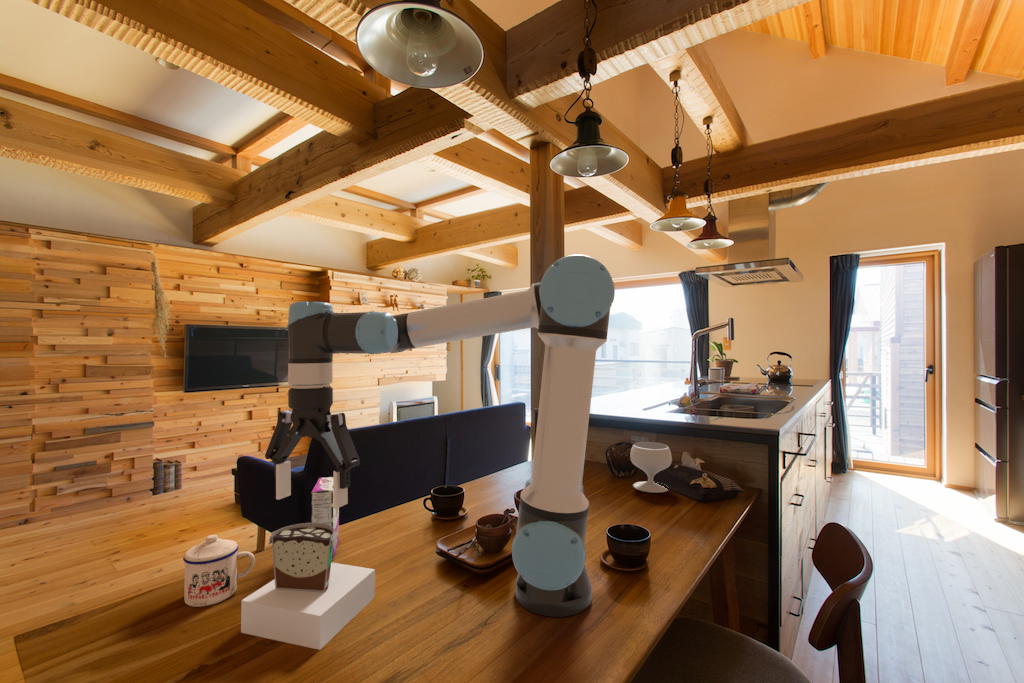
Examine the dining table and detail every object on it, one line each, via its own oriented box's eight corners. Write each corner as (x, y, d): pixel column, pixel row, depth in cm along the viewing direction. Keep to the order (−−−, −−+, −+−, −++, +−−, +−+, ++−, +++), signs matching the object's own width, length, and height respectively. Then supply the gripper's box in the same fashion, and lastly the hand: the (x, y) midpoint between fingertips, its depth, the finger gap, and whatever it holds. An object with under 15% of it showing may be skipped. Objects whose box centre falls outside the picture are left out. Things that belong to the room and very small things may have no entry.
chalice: (680, 492, 154) (680, 448, 154) (644, 496, 150) (644, 451, 150) (656, 480, 167) (656, 440, 167) (622, 483, 163) (622, 442, 163)
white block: (374, 599, 89) (375, 569, 89) (319, 652, 74) (320, 615, 74) (306, 587, 94) (306, 558, 94) (241, 635, 78) (241, 600, 78)
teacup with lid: (179, 613, 83) (180, 550, 84) (186, 590, 91) (186, 532, 91) (254, 596, 89) (255, 537, 89) (254, 575, 97) (254, 521, 97)
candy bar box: (318, 542, 114) (318, 477, 114) (339, 540, 115) (339, 475, 115) (310, 563, 103) (310, 491, 103) (333, 561, 104) (334, 489, 104)
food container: (348, 575, 87) (349, 523, 87) (332, 592, 81) (333, 536, 81) (287, 572, 88) (288, 520, 88) (267, 588, 82) (268, 532, 82)
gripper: (379, 386, 83) (380, 502, 82) (277, 382, 92) (277, 488, 91) (351, 389, 76) (351, 517, 75) (243, 386, 85) (243, 500, 84)
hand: (311, 501), depth 83 cm, fingers open, 13 cm apart
